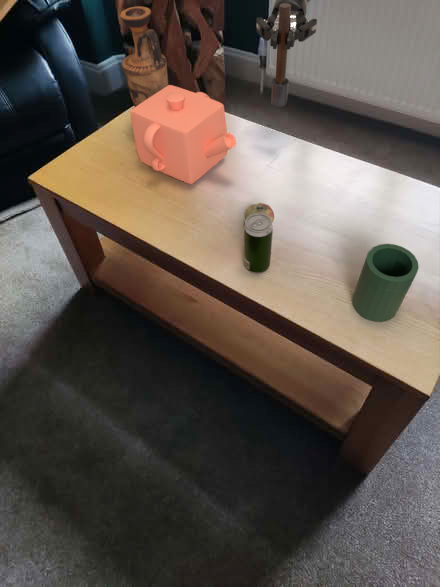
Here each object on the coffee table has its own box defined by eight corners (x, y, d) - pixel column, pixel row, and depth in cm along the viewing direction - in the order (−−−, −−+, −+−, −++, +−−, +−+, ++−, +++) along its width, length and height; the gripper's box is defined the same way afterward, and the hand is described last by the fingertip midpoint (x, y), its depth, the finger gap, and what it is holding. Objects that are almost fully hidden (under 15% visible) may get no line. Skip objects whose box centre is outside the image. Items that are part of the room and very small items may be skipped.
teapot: (260, 161, 110) (263, 93, 95) (206, 211, 99) (200, 143, 85) (185, 131, 119) (177, 65, 105) (128, 173, 109) (111, 107, 95)
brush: (281, 96, 102) (288, 0, 86) (290, 103, 100) (298, 6, 84) (267, 101, 101) (271, 4, 85) (276, 108, 99) (281, 10, 83)
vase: (129, 137, 119) (100, 16, 95) (154, 119, 124) (133, -1, 100) (159, 150, 114) (137, 26, 91) (184, 130, 120) (169, 8, 96)
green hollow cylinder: (378, 280, 85) (395, 237, 76) (407, 311, 80) (429, 269, 71) (343, 296, 83) (356, 254, 74) (370, 328, 78) (388, 288, 69)
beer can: (254, 279, 87) (256, 237, 77) (238, 263, 89) (238, 220, 80) (275, 266, 88) (279, 224, 79) (258, 251, 91) (260, 208, 81)
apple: (268, 244, 92) (269, 223, 88) (238, 228, 95) (238, 208, 91) (283, 228, 95) (285, 207, 90) (254, 213, 98) (254, 193, 93)
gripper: (259, -10, 96) (248, 23, 86) (322, -9, 94) (318, 25, 84) (258, 27, 102) (248, 62, 92) (318, 29, 100) (313, 64, 90)
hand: (281, 44), depth 88 cm, fingers closed on brush, 2 cm apart
